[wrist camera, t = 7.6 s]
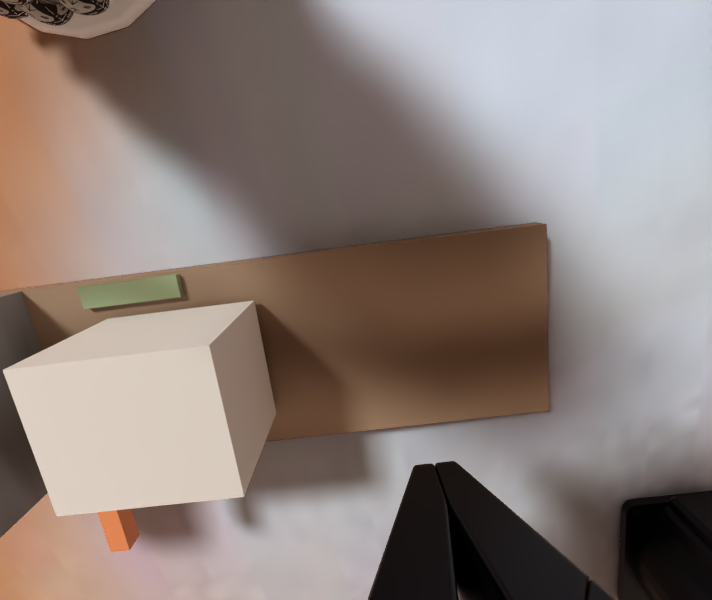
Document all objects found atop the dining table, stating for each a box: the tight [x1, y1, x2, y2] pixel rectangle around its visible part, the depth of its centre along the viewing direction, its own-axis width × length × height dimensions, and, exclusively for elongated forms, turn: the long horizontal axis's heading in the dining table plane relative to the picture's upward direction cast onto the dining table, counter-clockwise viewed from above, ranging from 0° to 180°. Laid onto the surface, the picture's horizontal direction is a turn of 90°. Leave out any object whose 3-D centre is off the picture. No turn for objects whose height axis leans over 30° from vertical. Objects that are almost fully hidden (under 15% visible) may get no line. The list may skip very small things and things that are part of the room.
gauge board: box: [0, 222, 549, 538], centre depth 15 cm, size 9×24×7 cm, turn 97°
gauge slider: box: [3, 301, 276, 552], centre depth 15 cm, size 8×6×5 cm
